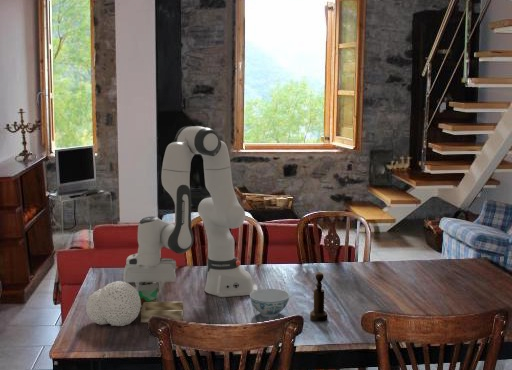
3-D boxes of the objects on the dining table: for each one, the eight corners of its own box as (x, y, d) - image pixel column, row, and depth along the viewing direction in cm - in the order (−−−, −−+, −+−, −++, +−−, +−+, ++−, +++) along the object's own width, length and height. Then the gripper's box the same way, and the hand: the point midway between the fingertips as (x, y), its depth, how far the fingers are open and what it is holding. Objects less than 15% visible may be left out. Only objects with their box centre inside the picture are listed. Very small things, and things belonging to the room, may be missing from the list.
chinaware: (252, 307, 271) (252, 288, 270) (290, 308, 270) (290, 289, 269) (247, 320, 257) (247, 300, 255) (288, 322, 255) (288, 302, 254)
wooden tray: (183, 311, 265) (183, 301, 265) (181, 321, 255) (181, 310, 254) (143, 312, 264) (143, 302, 264) (141, 322, 254) (140, 311, 253)
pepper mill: (308, 316, 261) (309, 270, 258) (325, 315, 262) (326, 269, 259) (311, 322, 255) (312, 275, 252) (328, 321, 255) (329, 275, 252)
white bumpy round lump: (151, 293, 260) (126, 266, 251) (146, 329, 246) (119, 301, 237) (107, 311, 266) (81, 285, 257) (101, 348, 252) (73, 321, 243)
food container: (153, 311, 266) (153, 286, 264) (137, 310, 267) (137, 285, 265) (163, 301, 278) (163, 277, 276) (149, 299, 279) (149, 276, 277)
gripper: (176, 256, 273) (176, 289, 275) (124, 256, 272) (125, 290, 274) (175, 260, 267) (175, 294, 269) (122, 260, 265) (122, 295, 268)
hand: (149, 292), depth 271 cm, fingers open, 6 cm apart
